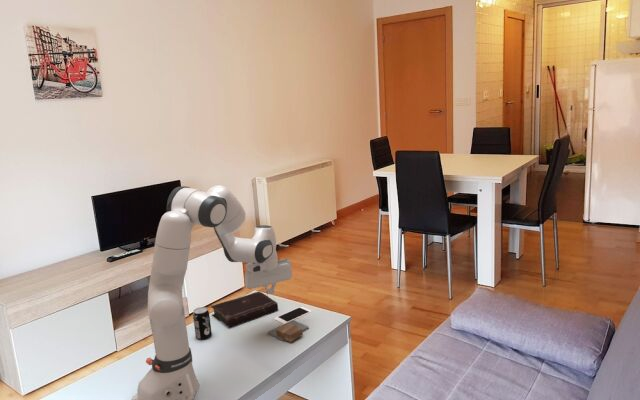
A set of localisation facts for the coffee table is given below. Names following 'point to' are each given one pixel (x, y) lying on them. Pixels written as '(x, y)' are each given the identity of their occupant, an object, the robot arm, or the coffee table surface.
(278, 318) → the cell phone
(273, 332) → the mat
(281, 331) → the wooden block
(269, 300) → the diary
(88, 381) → the coffee table surface
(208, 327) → the beverage can
